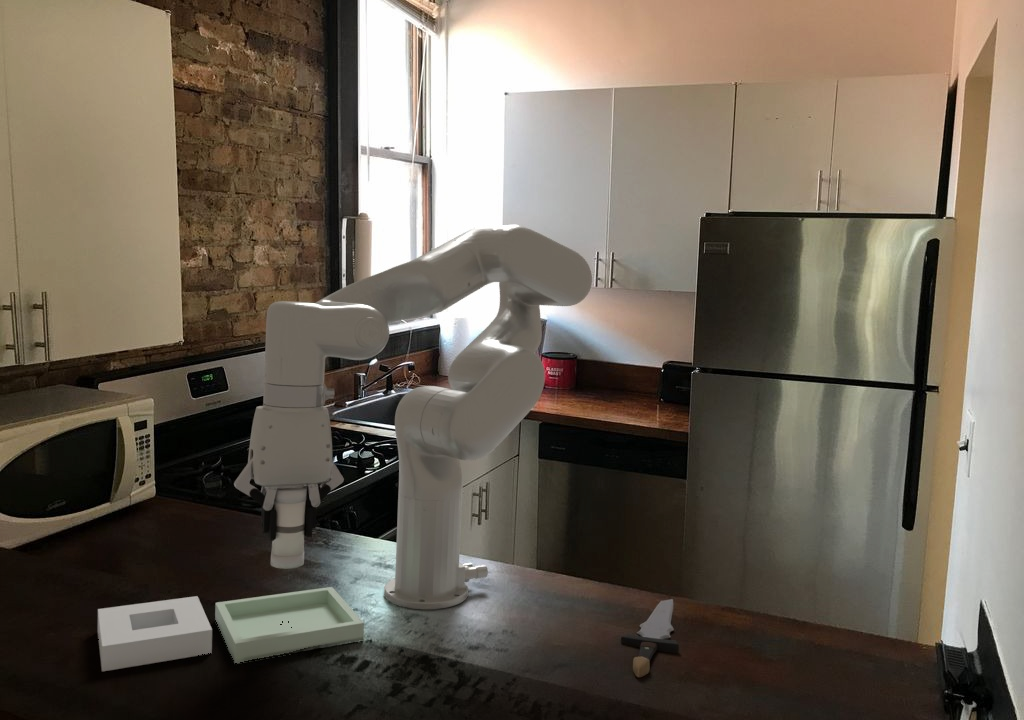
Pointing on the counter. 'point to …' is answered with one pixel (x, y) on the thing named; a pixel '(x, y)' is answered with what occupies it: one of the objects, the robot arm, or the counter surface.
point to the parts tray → (286, 623)
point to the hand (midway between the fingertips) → (288, 534)
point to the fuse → (289, 527)
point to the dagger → (653, 637)
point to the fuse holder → (152, 632)
